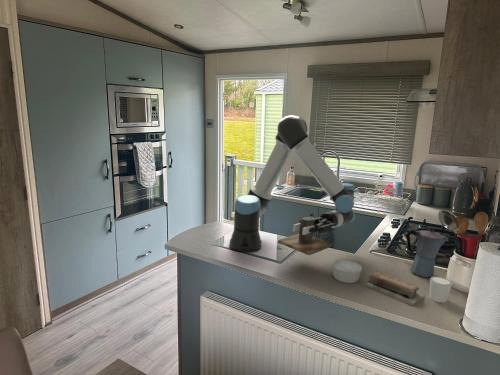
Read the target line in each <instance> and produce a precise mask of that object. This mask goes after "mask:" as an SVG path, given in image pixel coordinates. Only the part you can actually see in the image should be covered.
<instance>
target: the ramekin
mask: <svg viewBox="0 0 500 375" xmlns="http://www.w3.org/2000/svg"><path fill="white" fill-rule="evenodd" d="M331 267H332V273H333V275H332V276H333V278H334V279H335V280H337V281H339V282H341V283H346V284H355V283H357V281H359V278H360V276H361V272H362V270H363V267H362V266H361V264H359V263H357V262H355V261H352V260H348V259H347V260H346V259H338V260H334V261H333V262H332V264H331Z"/></svg>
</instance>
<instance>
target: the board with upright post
mask: <svg viewBox="0 0 500 375" xmlns="http://www.w3.org/2000/svg"><path fill="white" fill-rule="evenodd" d="M309 217H310V216H305V217H302V218H300V220H301V221H300V230H299V231H298V232H299V233H296V234H293V235H290V236H287V237H283V238H281V239H278V240H277V244H279V245H283V246H284V247H287V248H290V249H292V250H294V251H297V252H298V253H299V252H300V253H302V254H304V255H306V256H312V255H315V254H317V253H320V252H322V251H325V250H326V249H329V248H331V247H333V243H332V242H328V241H326V240H323V239H320V238H317V237H315V236H314V232H311V233H308V234H305V235H303V234H302V232H303V228H304V227H308V226H311V225H314V220H315V219H312V218H309Z"/></svg>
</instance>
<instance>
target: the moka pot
mask: <svg viewBox="0 0 500 375" xmlns="http://www.w3.org/2000/svg"><path fill="white" fill-rule="evenodd" d="M411 235H413V236H417V240H416V250H415V249H412V248H411V247H412V246H411V239H410V238H411V237H410V236H411ZM405 238H406V242H407V243H406V244H407V250H408V252H411V253H415V251H416V254H415V257H414V259H413V262H412V264H411V267H410V269H409V270H410V272H411V273H412V274H414V275H417V276H418V277H422V278H426V277H427V279H429V278H428V277H434V273H435V264H436V263H437V260H436V258H437V255H438V253H439V251H440V248H441V247H442V246H443V245H444V243H445V242H446V241H447V240H449V238H448V237H446V236H445V235H443V234H440V233H438V232H435V228H434V227H430V229H429V230H425V229H424V230H421V229H420V230H414V229H412V230H410V231H409V232H407V233H406V235H405Z"/></svg>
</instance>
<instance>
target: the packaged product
mask: <svg viewBox="0 0 500 375" xmlns="http://www.w3.org/2000/svg"><path fill="white" fill-rule="evenodd" d="M365 286H366V287H368V288H370V289H372V290H375V291H377V292H379V293H381V294H384V295H386V296H389V297H391V298H393V299H396V300H398V301H400V302H403V303H405V304H408V305H410V306H414V305H415V304H417V303H418V302H420V301H421V300H422V299H423V298H424V297H425V294H423V293H420V292H418V290H419V288H420V287H419V286H416V285H413V284H412V283H409V282H406V281H404V280H401V279H399V278H396V277H394V276H391V275H388V274H386V273H383V272H381V271H379V270H377V271H375V272H373V273H371V274H369V276H368V281H366V282H365Z"/></svg>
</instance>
